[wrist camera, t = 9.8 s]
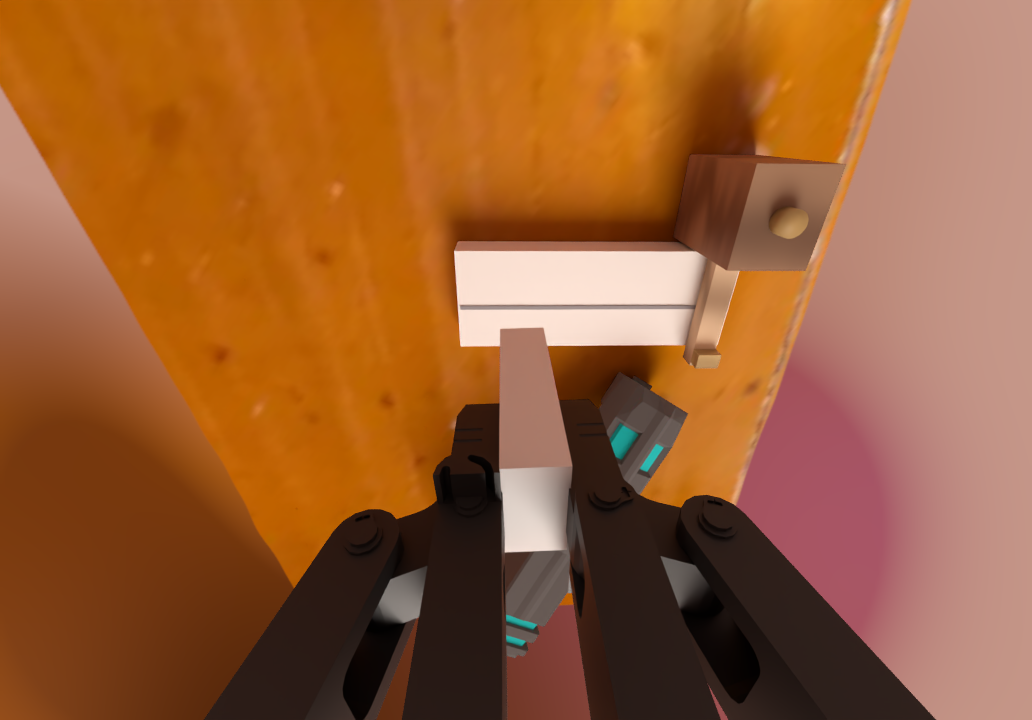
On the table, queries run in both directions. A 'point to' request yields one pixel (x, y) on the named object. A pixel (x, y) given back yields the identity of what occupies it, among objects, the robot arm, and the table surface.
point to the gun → (639, 452)
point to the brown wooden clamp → (747, 228)
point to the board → (578, 291)
